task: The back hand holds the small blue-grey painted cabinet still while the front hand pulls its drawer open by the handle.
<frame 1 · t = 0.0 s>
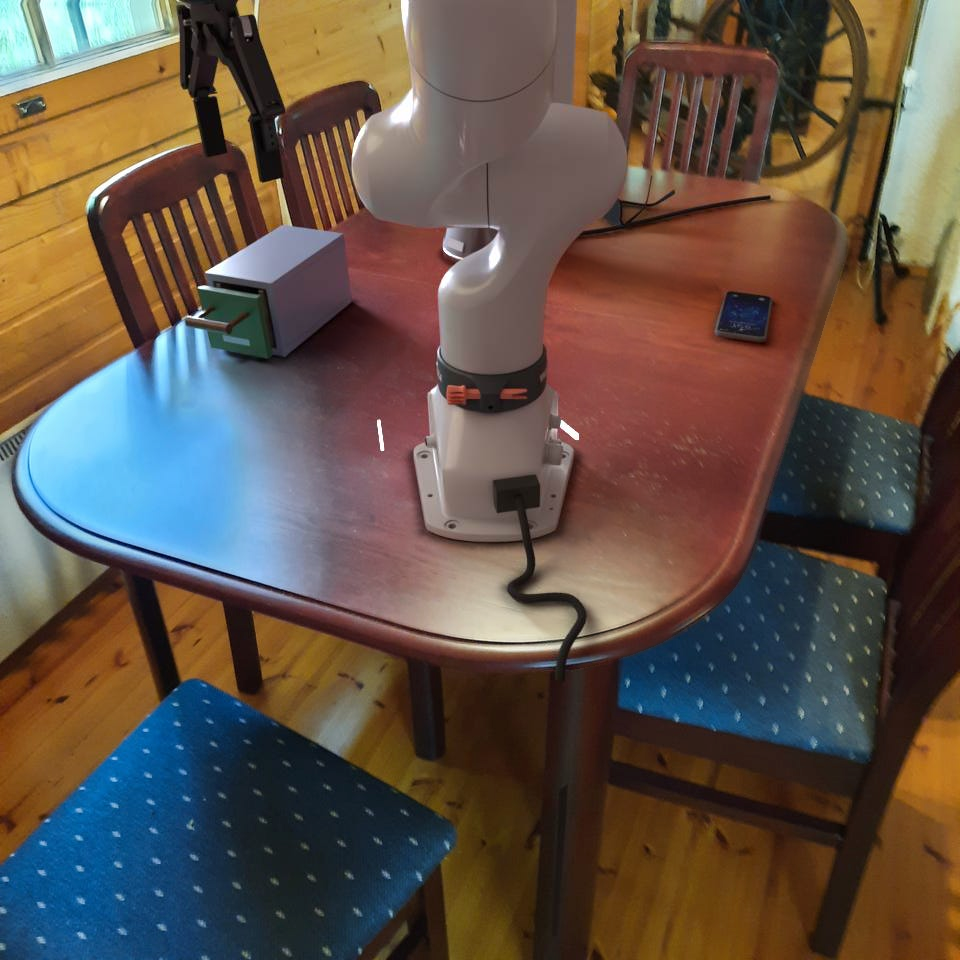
back hand: (242, 167, 101), 28 cm above the table, tool pointing down, fingers open, 13 cm apart
sunglasses: (630, 211, 166), on the table
drawer: (259, 305, 123), point 6 cm above the table, slide at 1.7 cm
smartphone: (743, 319, 128), on the table
cabinet: (289, 322, 131), on the table
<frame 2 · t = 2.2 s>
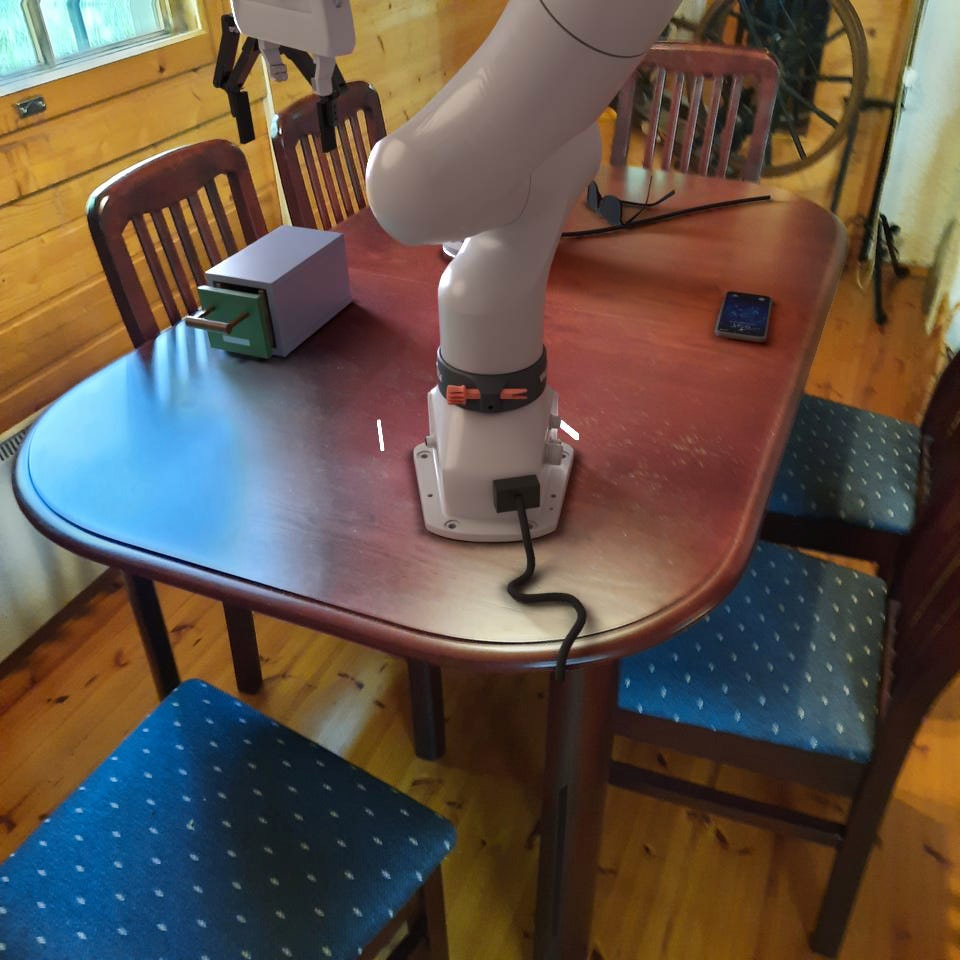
front hand: (300, 87, 101), 35 cm above the table, tool pointing down, fingers open, 8 cm apart
back hand: (288, 146, 121), 24 cm above the table, tool pointing down, fingers open, 13 cm apart
nothing on the table moved.
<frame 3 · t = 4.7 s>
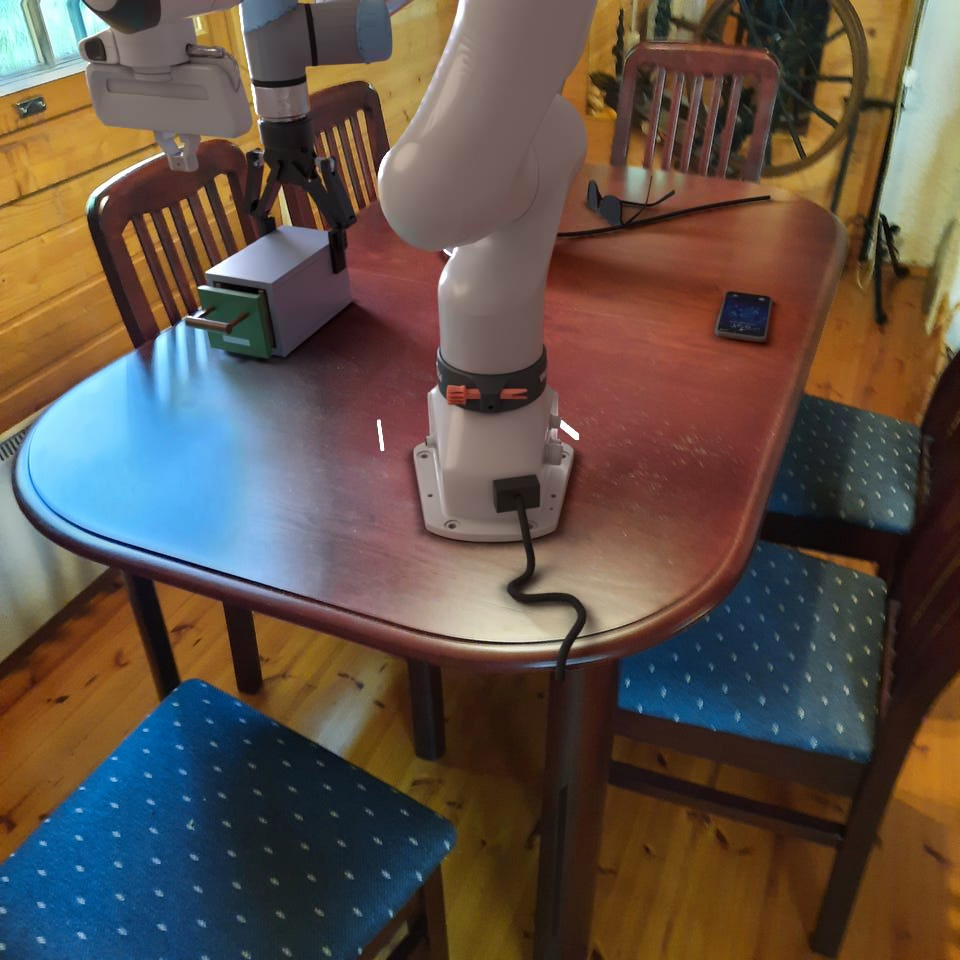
front hand: (184, 169, 103), 27 cm above the table, tool pointing down, fingers closed
back hand: (306, 265, 132), 6 cm above the table, tool pointing down, fingers closed on cabinet, 11 cm apart
cabinet: (289, 322, 131), on the table, touching back hand
everything else where it was.
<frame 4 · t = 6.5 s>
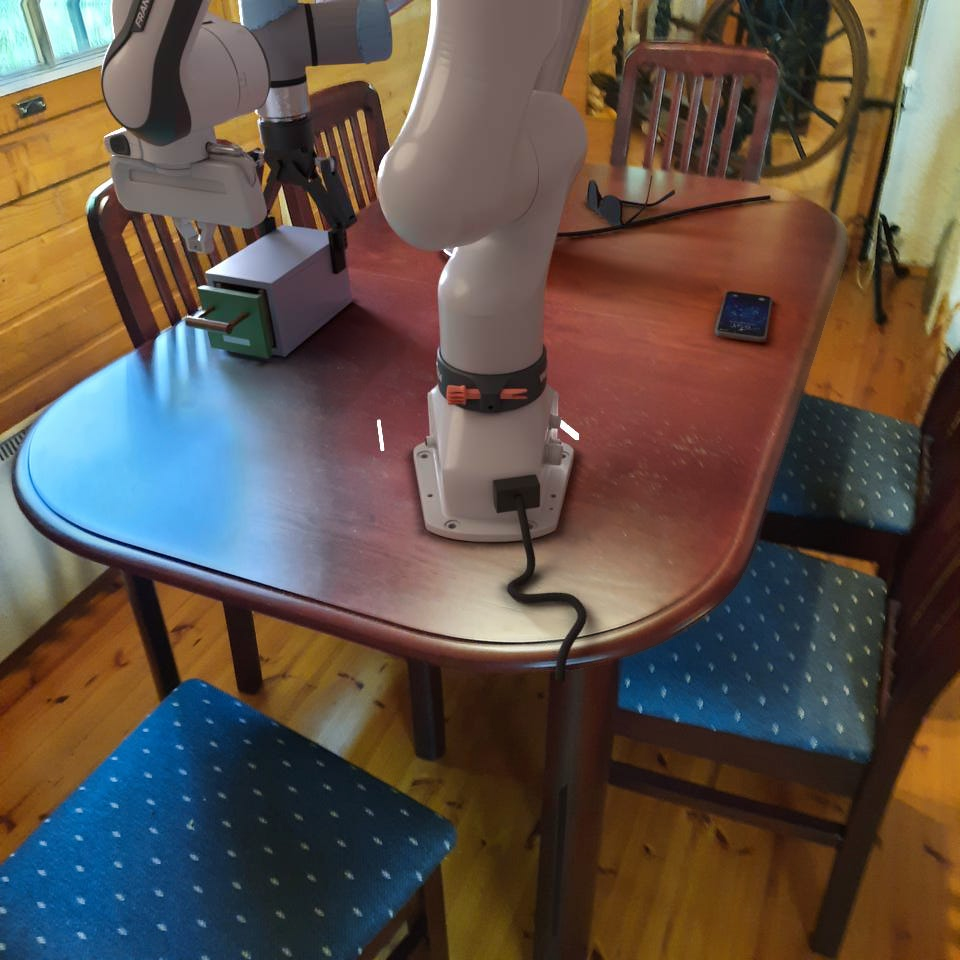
front hand: (201, 251, 109), 17 cm above the table, tool pointing down, fingers closed
back hand: (306, 265, 132), 6 cm above the table, tool pointing down, fingers closed on cabinet, 11 cm apart
cabinet: (289, 321, 131), on the table, touching back hand
everything else where it was.
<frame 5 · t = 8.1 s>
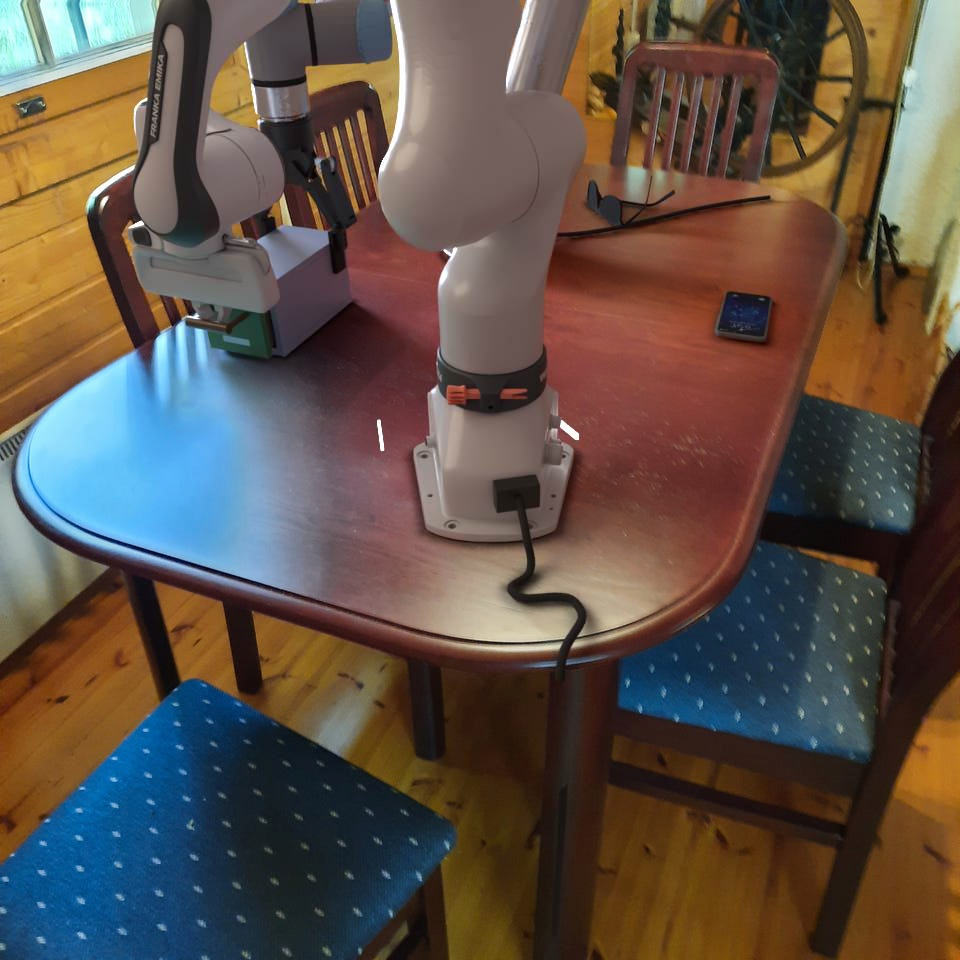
front hand: (218, 330, 115), 6 cm above the table, tool pointing down, fingers closed, pressing on drawer
back hand: (306, 265, 132), 6 cm above the table, tool pointing down, fingers closed on cabinet, 11 cm apart
drawer: (259, 305, 123), point 6 cm above the table, slide at 1.7 cm, touching front hand
cabinet: (289, 321, 131), on the table, touching back hand
everything else where it was.
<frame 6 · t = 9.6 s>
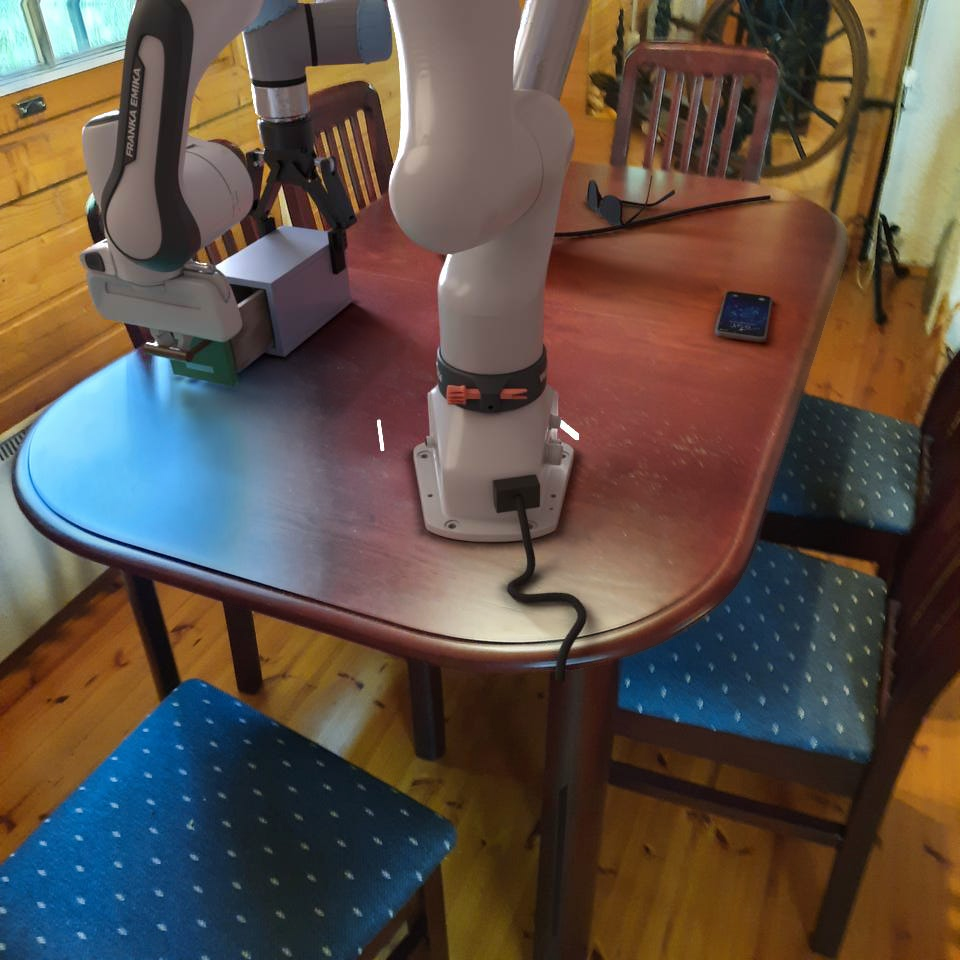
front hand: (179, 358, 109), 6 cm above the table, tool pointing down, fingers closed, pressing on drawer
back hand: (306, 266, 132), 6 cm above the table, tool pointing down, fingers closed on cabinet, 11 cm apart
drawer: (224, 329, 117), point 6 cm above the table, slide at 9.8 cm, touching front hand
cabinet: (289, 322, 131), on the table, touching back hand
everything else where it was.
when the back hand's fingers open (6 cm above the table, at t = 11.2 s): cabinet stays where it is, on the table.
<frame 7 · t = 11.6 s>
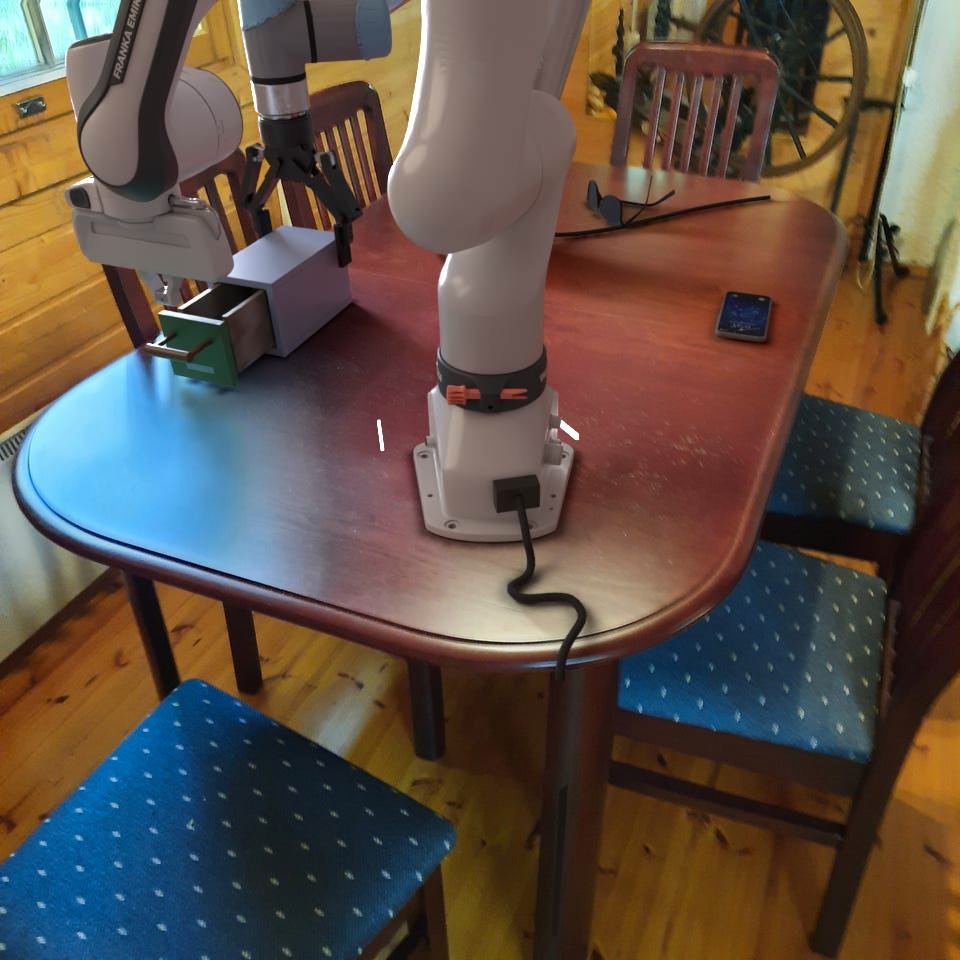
front hand: (168, 303, 105), 13 cm above the table, tool pointing down, fingers closed
back hand: (306, 259, 131), 7 cm above the table, tool pointing down, fingers open, 13 cm apart
drawer: (225, 330, 117), point 6 cm above the table, slide at 9.9 cm
cabinet: (289, 322, 131), on the table
everything else where it was.
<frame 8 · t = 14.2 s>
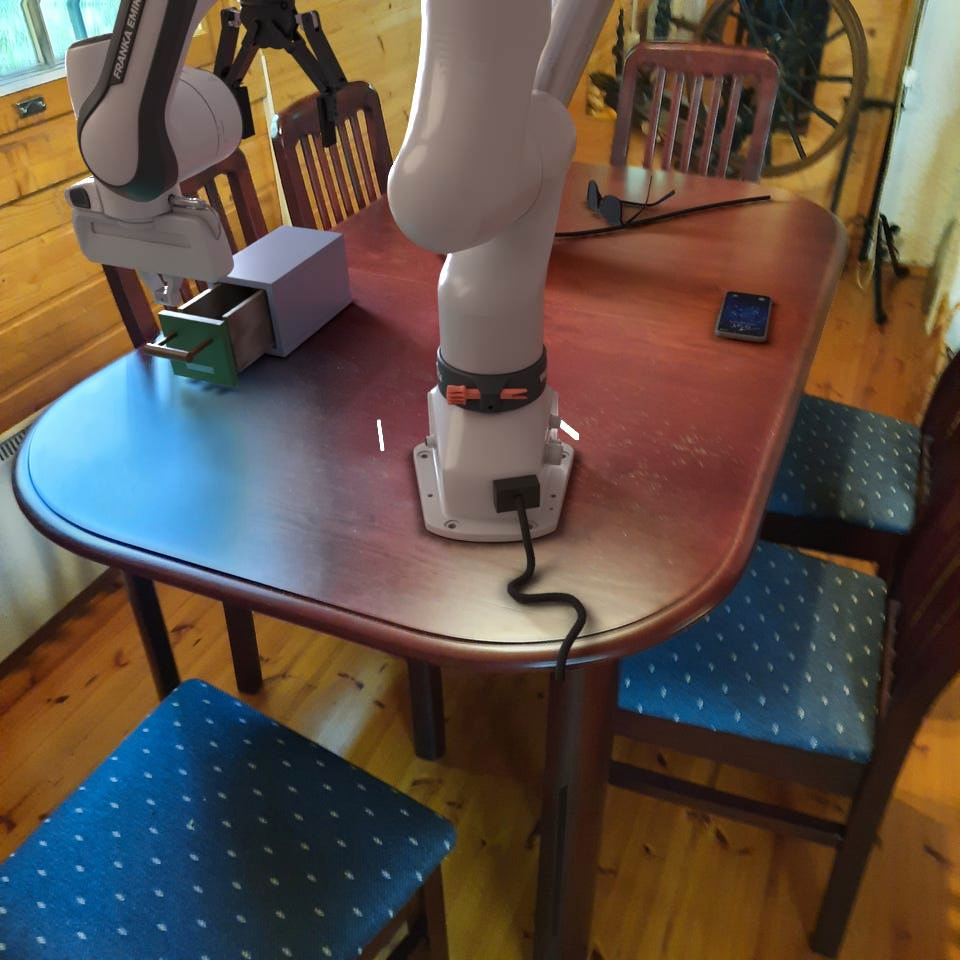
front hand: (168, 303, 105), 13 cm above the table, tool pointing down, fingers closed
back hand: (288, 141, 121), 25 cm above the table, tool pointing down, fingers open, 13 cm apart
nothing on the table moved.
at the end: drawer slide at 9.9 cm; cabinet tilted 0°; cabinet never tilted more than 1° during the clip; cabinet moved 0.1 cm from its start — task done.
